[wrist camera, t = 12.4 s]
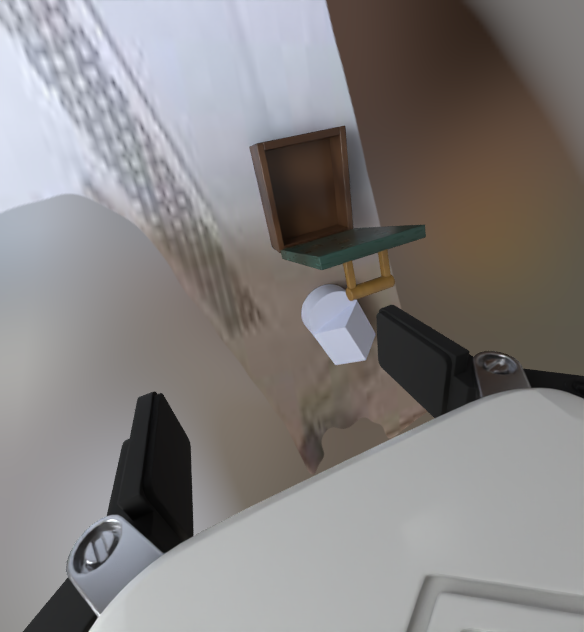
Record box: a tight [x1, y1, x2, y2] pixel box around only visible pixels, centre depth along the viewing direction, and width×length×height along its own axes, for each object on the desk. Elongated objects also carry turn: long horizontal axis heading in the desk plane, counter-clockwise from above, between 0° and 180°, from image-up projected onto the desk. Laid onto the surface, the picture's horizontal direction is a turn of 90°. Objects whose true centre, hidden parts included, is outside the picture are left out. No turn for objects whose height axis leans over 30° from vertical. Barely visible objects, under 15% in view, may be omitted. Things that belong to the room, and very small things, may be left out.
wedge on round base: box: [301, 284, 376, 365], centre depth 46 cm, size 9×7×13 cm
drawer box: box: [250, 126, 353, 253], centre depth 37 cm, size 13×11×4 cm
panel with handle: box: [280, 225, 426, 301], centre depth 33 cm, size 13×11×6 cm
